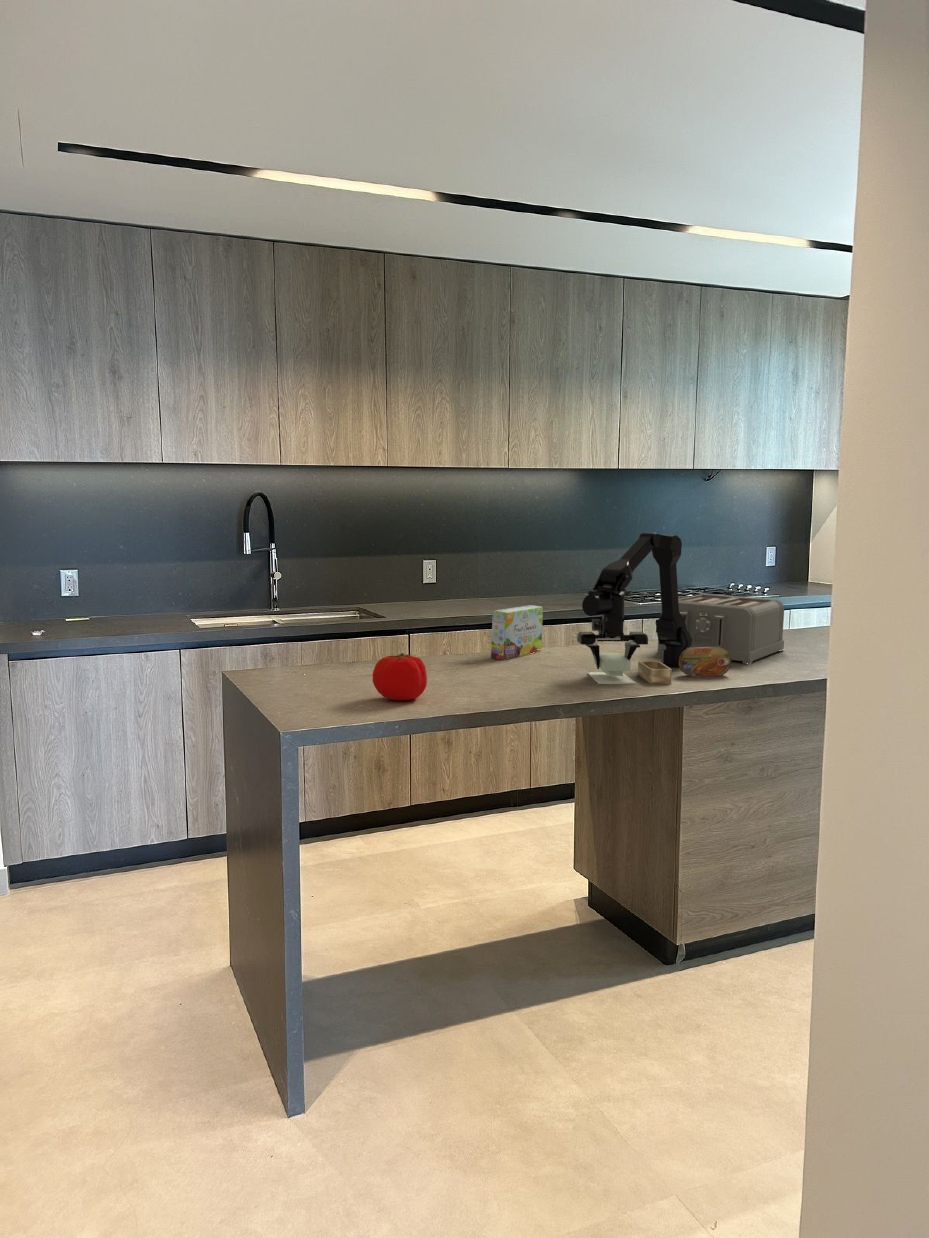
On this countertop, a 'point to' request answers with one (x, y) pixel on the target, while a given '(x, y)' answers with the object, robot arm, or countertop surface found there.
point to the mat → (610, 678)
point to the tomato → (400, 677)
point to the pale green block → (613, 664)
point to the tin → (705, 661)
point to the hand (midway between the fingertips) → (611, 668)
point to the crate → (654, 672)
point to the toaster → (734, 624)
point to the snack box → (516, 631)
